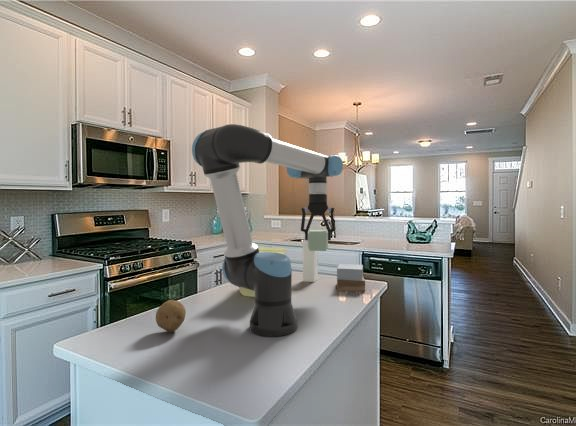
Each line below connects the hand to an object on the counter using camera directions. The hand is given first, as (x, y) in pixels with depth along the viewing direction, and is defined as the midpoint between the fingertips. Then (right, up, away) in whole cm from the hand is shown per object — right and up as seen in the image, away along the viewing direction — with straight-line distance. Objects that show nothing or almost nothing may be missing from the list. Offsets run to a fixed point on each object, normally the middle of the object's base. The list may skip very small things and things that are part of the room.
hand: (317, 248), depth 144 cm
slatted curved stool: (-25, -20, +6) cm, 33 cm away
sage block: (0, -1, 0) cm, 1 cm away
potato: (-49, -22, -38) cm, 66 cm away
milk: (-1, -19, +27) cm, 33 cm away
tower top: (+16, -15, +13) cm, 25 cm away
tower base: (+16, -20, +13) cm, 29 cm away
